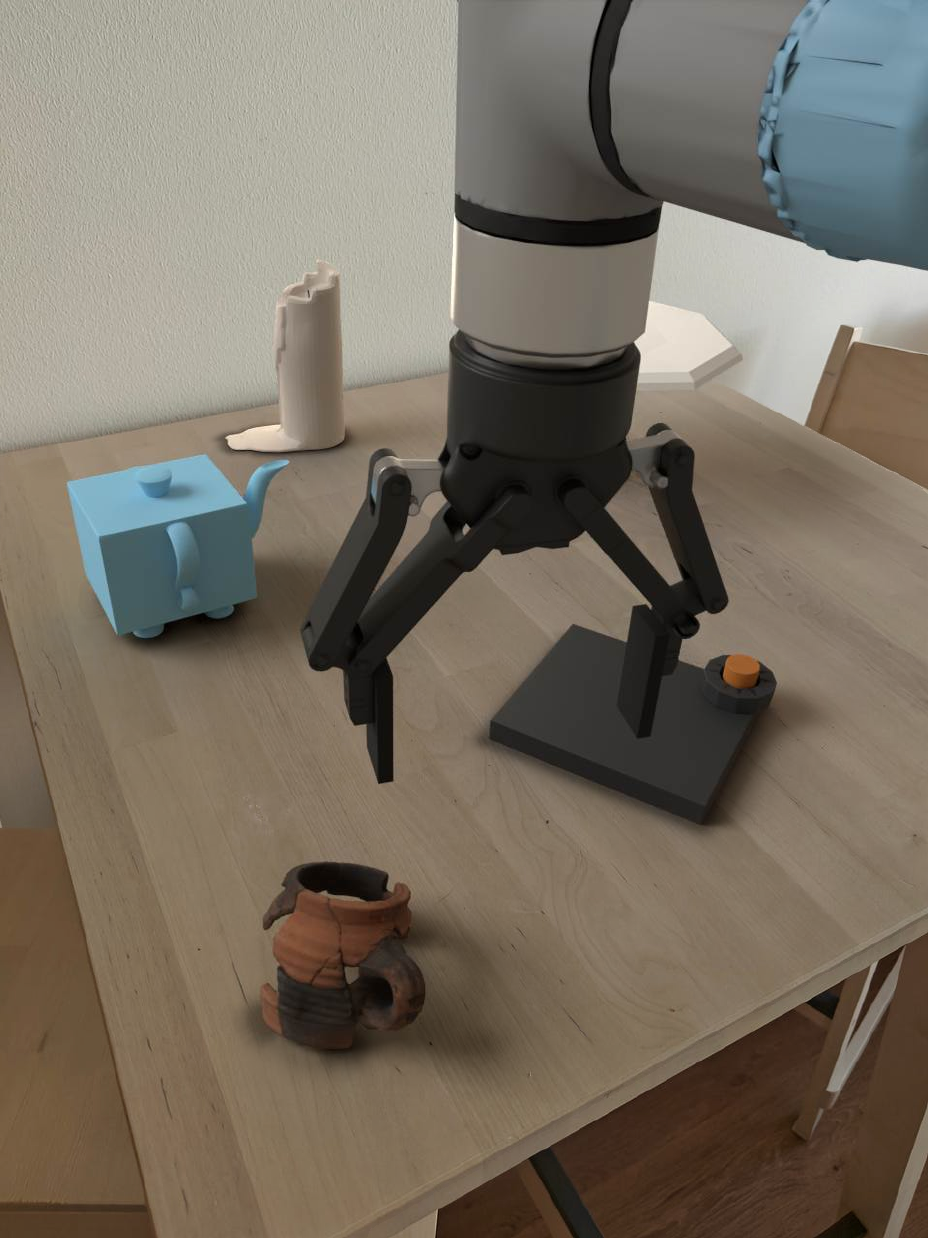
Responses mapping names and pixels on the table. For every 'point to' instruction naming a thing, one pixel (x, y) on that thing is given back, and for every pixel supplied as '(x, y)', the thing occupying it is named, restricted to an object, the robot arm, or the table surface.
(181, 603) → the teapot
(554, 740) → the scale
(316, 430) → the candle
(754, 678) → the scale button
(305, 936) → the pottery mug
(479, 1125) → the table surface
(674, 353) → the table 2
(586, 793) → the table surface
